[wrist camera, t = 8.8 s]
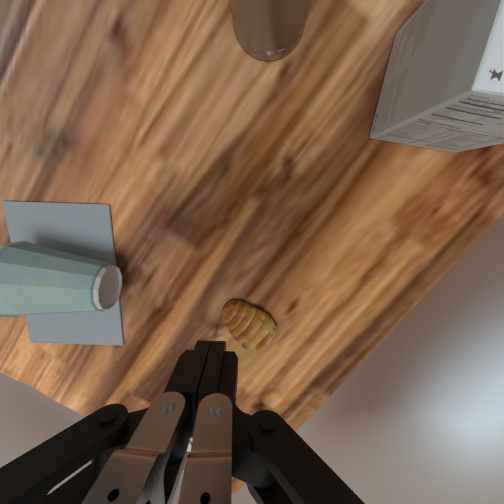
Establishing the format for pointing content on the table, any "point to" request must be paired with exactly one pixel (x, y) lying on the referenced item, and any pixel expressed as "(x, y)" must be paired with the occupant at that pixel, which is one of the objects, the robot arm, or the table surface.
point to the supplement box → (445, 78)
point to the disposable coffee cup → (54, 281)
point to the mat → (75, 242)
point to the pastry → (249, 325)
